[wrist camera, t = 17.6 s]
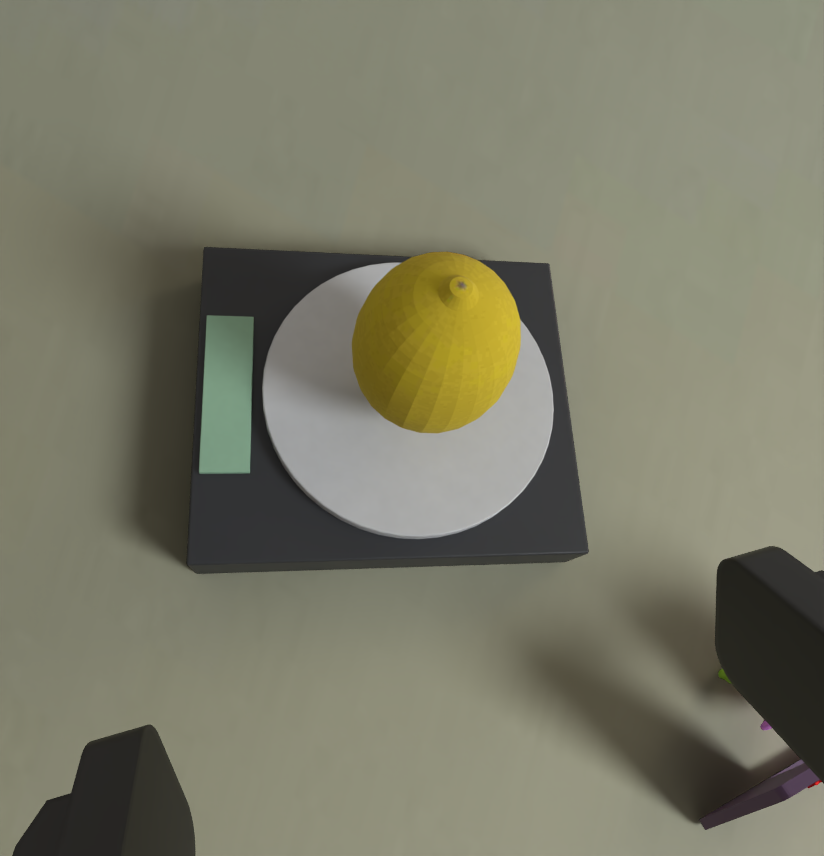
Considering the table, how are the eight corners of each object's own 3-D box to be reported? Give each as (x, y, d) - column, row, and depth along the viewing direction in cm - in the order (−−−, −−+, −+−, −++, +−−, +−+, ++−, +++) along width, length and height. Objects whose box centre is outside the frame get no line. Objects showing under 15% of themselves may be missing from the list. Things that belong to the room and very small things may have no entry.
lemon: (510, 399, 27) (592, 297, 20) (413, 489, 25) (464, 415, 18) (414, 304, 28) (459, 172, 20) (313, 385, 26) (322, 272, 19)
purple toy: (803, 825, 20) (1008, 697, 22) (690, 663, 23) (883, 565, 25) (716, 851, 25) (889, 745, 28) (633, 717, 28) (797, 631, 31)
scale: (195, 574, 26) (183, 563, 23) (209, 277, 30) (201, 237, 27) (566, 562, 28) (596, 550, 26) (532, 290, 33) (554, 254, 30)
